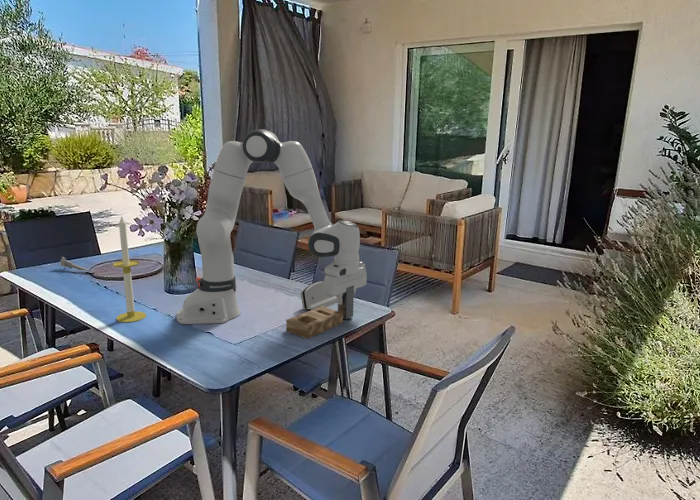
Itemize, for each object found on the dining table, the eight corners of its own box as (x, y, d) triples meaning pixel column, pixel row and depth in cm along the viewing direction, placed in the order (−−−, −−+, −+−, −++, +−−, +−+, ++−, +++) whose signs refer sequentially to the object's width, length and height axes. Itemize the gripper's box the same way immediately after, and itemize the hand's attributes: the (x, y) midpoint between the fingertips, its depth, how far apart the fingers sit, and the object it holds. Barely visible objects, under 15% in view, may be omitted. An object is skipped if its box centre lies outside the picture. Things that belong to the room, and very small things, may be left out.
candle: (131, 324, 169) (121, 218, 160) (109, 320, 173) (98, 216, 164) (152, 314, 179) (143, 214, 169) (130, 310, 182) (121, 211, 173)
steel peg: (346, 319, 176) (346, 288, 173) (337, 316, 179) (338, 285, 176) (353, 316, 179) (354, 285, 176) (344, 313, 182) (345, 283, 179)
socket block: (307, 338, 161) (307, 327, 160) (286, 330, 167) (286, 319, 166) (342, 323, 174) (342, 312, 173) (322, 316, 180) (322, 306, 179)
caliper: (61, 269, 231) (59, 256, 230) (63, 269, 232) (61, 256, 231) (92, 275, 224) (91, 262, 223) (94, 274, 225) (93, 261, 224)
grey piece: (312, 312, 184) (305, 287, 183) (303, 313, 187) (297, 288, 186) (340, 301, 196) (334, 277, 196) (331, 302, 199) (325, 278, 199)
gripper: (358, 258, 184) (357, 293, 187) (321, 269, 169) (320, 307, 172) (371, 262, 180) (369, 297, 183) (334, 273, 165) (333, 311, 168)
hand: (345, 302), depth 177 cm, fingers closed on steel peg, 4 cm apart
